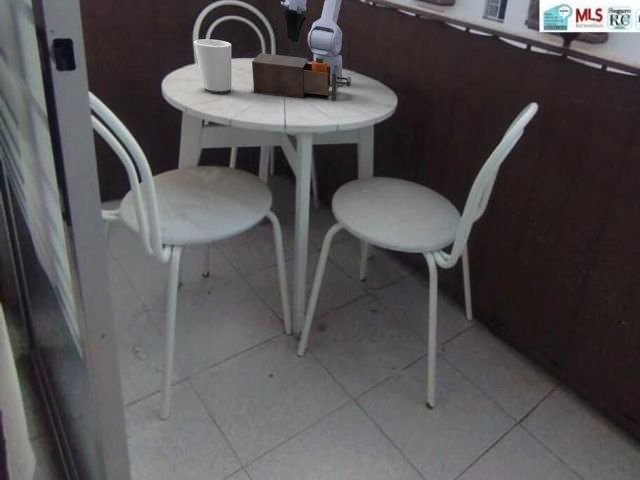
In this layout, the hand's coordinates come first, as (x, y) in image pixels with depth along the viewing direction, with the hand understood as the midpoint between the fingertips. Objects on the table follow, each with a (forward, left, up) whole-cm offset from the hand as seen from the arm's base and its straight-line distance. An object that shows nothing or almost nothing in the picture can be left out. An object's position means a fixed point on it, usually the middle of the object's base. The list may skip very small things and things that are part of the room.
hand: (292, 40), depth 148 cm
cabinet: (+4, -4, -15) cm, 16 cm away
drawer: (-9, -1, -14) cm, 16 cm away
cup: (+22, +2, -15) cm, 27 cm away
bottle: (-8, -2, -13) cm, 15 cm away
